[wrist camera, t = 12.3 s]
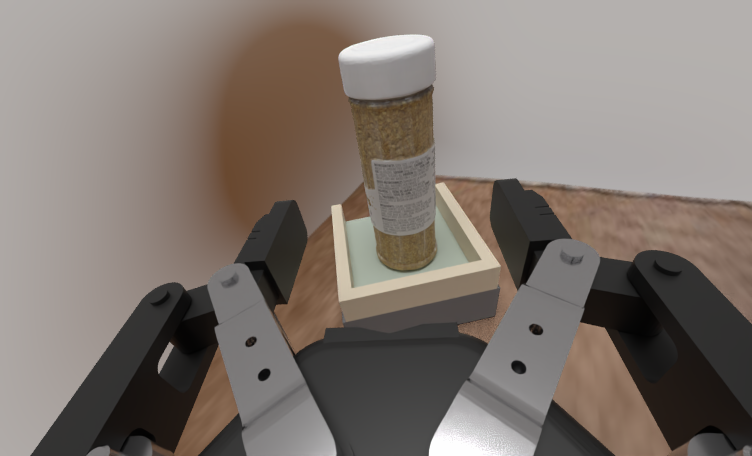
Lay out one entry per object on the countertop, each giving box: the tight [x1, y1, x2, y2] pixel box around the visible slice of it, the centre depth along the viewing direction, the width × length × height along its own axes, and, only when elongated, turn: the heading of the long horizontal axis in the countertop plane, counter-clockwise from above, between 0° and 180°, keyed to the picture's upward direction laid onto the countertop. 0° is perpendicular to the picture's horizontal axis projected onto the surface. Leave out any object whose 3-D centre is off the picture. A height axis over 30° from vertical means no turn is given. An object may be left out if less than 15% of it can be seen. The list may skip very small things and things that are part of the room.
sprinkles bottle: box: [339, 35, 437, 271], centre depth 18 cm, size 5×5×13 cm
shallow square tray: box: [331, 183, 501, 333], centre depth 23 cm, size 10×10×5 cm
